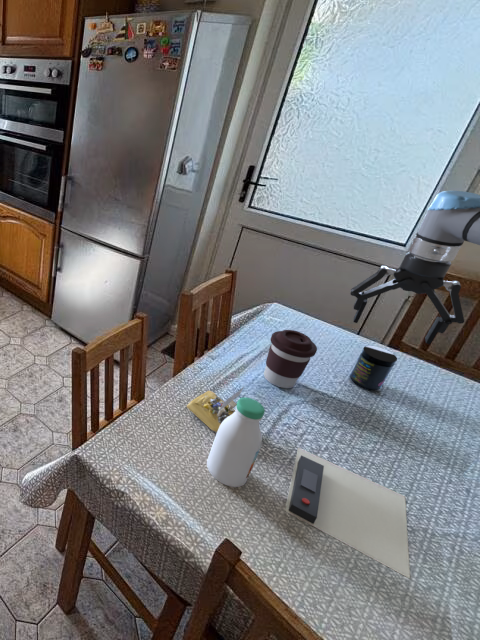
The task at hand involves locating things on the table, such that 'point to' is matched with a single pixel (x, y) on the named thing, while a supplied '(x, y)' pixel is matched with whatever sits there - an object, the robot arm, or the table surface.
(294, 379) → the coffee cup
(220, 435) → the milk bottle
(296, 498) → the remote
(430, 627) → the table surface
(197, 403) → the yellow snack bag
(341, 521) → the scale
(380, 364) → the supplement container
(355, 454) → the table surface
